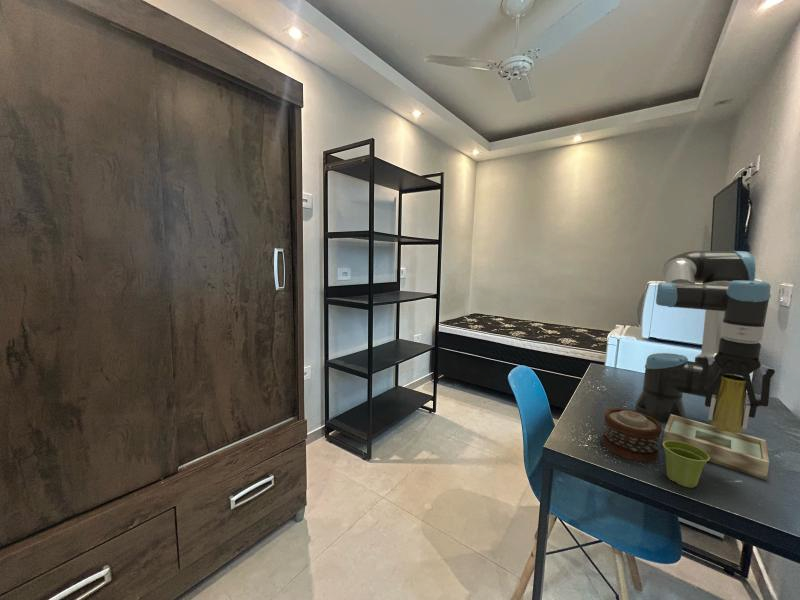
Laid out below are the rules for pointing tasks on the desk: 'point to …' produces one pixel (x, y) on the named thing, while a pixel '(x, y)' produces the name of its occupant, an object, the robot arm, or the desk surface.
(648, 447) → the spiked roller
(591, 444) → the desk surface
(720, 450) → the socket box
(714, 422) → the vase
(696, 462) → the plant pot
